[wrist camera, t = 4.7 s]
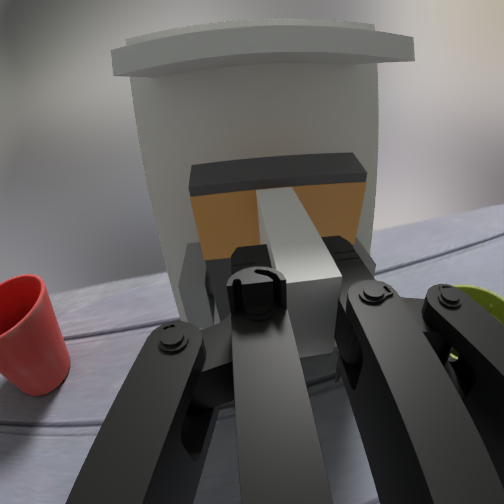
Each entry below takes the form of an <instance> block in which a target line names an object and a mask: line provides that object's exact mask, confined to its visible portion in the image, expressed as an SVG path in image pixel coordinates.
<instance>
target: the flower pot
mask: <svg viewBox="0 0 504 504" xmlns="http://www.w3.org/2000/svg"><path fill="white" fill-rule="evenodd" d="M69 368H70V356H69V353H68V351H67V348H66V345H65V342H64V340H63V337H62V334H61V331H60V328H59V325H58V322H57V319H56V316H55V313H54V311H53V308H52V304H51V301H50V298H49V295H48V292H47V289H46V286H45V284H44V281H43V280H42V279H41V278H40V277H39V276H36V275H31V274H26V275H20V276H16V277H13V278H11V279H8V280H6V281H4V282H2V283H1V284H0V373H1V374H2V375H3V376H4V377H6V378H7V379H8V380H9V381H10V382H12V383H13V384H14V385H15V386H17V387H18V388H19V389H20V390H22V391H23V392H24V393H26V394H28V395H31V396H41V395H45V394H48V393H50V392H51V391H53V390H54V389H56V388H57V387H58V386H59V385H60V384H61V382H62V381H63V380H64V379H65V378H66V376H67V374H68V372H69Z"/></svg>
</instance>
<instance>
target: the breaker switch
mask: <svg viewBox="0 0 504 504" xmlns="http://www.w3.org/2000/svg"><path fill="white" fill-rule="evenodd" d="M366 178H367V172H366V170H365V169H364V167H363V166H362V164H361V163H360V162H359V160H358V159H357V158H356V156H355V155H354V153H353V152H349V153H320V154H301V155H285V156H272V157H260V158H249V159H238V160H229V161H220V162H211V163H203V164H195V165H191V172H190V179H189V186H188V188H189V193H190V201H191V205H192V210H193V214H194V219H195V223H196V227H197V232H198V236H199V240H200V244H201V249H202V253H203V257H204V260H205V263H206V267H207V271H208V275H209V280H208V284H209V292H210V295H214V299H215V303H216V307H217V310H218V314H219V318H220V322H221V321H222V320H224V319H225V318H226V317H227V316H228V315H229V313H230V306H229V299H228V293H227V287H226V286H227V282H228V279H229V278H230V277H231V276H232V273H231V255H232V254H233V252H234V251H235V249H236V248H237V247H243V246H253V245H260V233H259V221H258V208H257V196H256V190H264V189H274V188H286V187H292V188H293V190H294V192H295V193H296V195H297V197H298V198H299V200H300V202H301V203H302V205H303V207H304V208H305V210H306V212H307V214H308V215H309V217H310V219H311V221H312V222H313V224H314V226H315V228H316V229H317V231H318V233H319V235H320V236H321V237H328V236H337V235H339V236H341V237H343V238H344V239H346V240H347V241H349V242H350V243H351V245H352V246H353V245H354V244H355V239H356V235H357V230H358V225H359V220H360V215H361V210H362V205H363V200H364V194H365V189H366V183H367V182H366Z"/></svg>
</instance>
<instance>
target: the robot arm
mask: <svg viewBox="0 0 504 504" xmlns="http://www.w3.org/2000/svg"><path fill="white" fill-rule="evenodd" d="M256 196H257V208H258V221H259V233H260V245H253V246H243V247H237V248H236V249H235V251H234V252H233V254H232V255H231V273H232V276H231V277H230V278H229V279H228V282H227V286H226V287H227V293H228V299H229V306H230V313H229V315H228V316H227V317H226V318H225V319H224V320H222V321H221V322H219V323H218V324H215V325H213V326H211V327H208V328H205V329H202V330H199V328H198V327H196V326H195V325H193V324H192V323H188V322H184V321H175V322H170V323H166V324H163V325H161V326H160V327H158V328H156V329H155V330H153V332H152V333H151V334H150V335H149V337H148V338H147V340H146V342H145V343H144V345H143V347H142V349H141V351H140V353H139V354H138V356H137V358H136V360H135V362H134V364H133V366H132V368H131V369H130V371H129V373H128V375H127V377H126V379H125V381H124V383H123V385H122V387H121V389H120V391H119V392H118V394H117V396H116V398H115V400H114V402H113V404H112V406H111V408H110V410H109V412H108V414H107V416H106V418H105V420H104V422H103V424H102V426H101V428H100V430H99V432H98V434H97V436H96V438H95V441H94V443H93V445H92V447H91V449H90V451H89V453H88V455H87V457H86V459H85V462H84V464H83V466H82V468H81V470H80V472H79V474H78V477H77V479H76V481H75V483H74V486H73V488H72V490H71V492H70V494H69V497H68V499H67V501H66V504H193V501H194V497H195V494H196V490H197V487H198V483H199V480H200V476H201V473H202V469H203V466H204V462H205V459H206V455H207V452H208V448H209V445H210V441H211V438H212V434H213V430H214V427H215V423H216V420H217V416H218V413H219V409H220V405H222V404H224V403H227V402H230V401H232V400H235V413H236V430H237V446H238V462H239V477H240V491H241V504H333V500H332V496H331V491H330V487H329V482H328V478H327V473H326V469H325V464H324V460H323V455H322V451H321V447H320V442H319V438H318V433H317V429H316V425H315V421H314V416H313V412H312V408H311V404H310V399H309V395H308V391H307V387H306V383H305V379H304V374H303V370H302V366H301V362H300V358H303V357H309V356H316V355H322V354H328V353H333V351H334V344H335V341H336V344H337V347H338V349H339V357H338V362H337V368H336V374H335V383H336V382H339V380H340V375H341V376H342V379H343V382H344V385H345V388H346V391H347V394H348V398H349V401H350V404H351V407H352V410H353V413H354V416H355V419H356V423H357V426H358V429H359V432H360V436H361V439H362V442H363V445H364V449H365V452H366V455H367V459H368V462H369V466H370V469H371V472H372V476H373V479H374V483H375V487H376V490H377V494H378V497H379V501H380V504H504V325H503V324H501V323H500V322H499V321H498V320H497V319H496V318H495V317H493V316H492V315H491V314H490V313H489V312H488V311H486V310H485V309H484V308H483V307H482V306H481V305H479V304H478V303H477V302H476V301H475V300H473V299H472V298H471V297H470V296H469V295H467V294H466V293H465V292H464V291H462V290H460V289H459V288H457V287H454V286H451V285H448V284H438V285H434V286H432V287H431V288H429V289H428V291H427V294H426V297H425V299H415V298H403V297H400V296H399V295H398V293H397V292H396V291H395V290H394V289H393V288H392V287H391V286H390V285H388V284H386V283H384V282H381V281H377V280H375V279H374V277H373V276H372V274H371V273H370V271H369V270H368V268H367V267H366V265H365V264H364V262H363V261H362V259H360V256H359V255H358V253H357V252H355V249H354V248H353V246H352V245H351V243H350V242H349V241H347V240H346V239H344V238H343V237H341V236H339V235H337V236H328V237H321V236H320V235H319V233H318V231H317V229H316V228H315V226H314V224H313V222H312V221H311V219H310V217H309V215H308V214H307V212H306V210H305V208H304V207H303V205H302V203H301V202H300V200H299V198H298V197H297V195H296V193H295V192H294V190H293V188H292V187H286V188H274V189H264V190H256ZM453 348H454V349H455V350H456V351H457V352H458V353H459V354H460V355H459V357H458V359H455V358H453V357H452V356H451V355H450V354H451V352H452V350H453Z"/></svg>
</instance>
